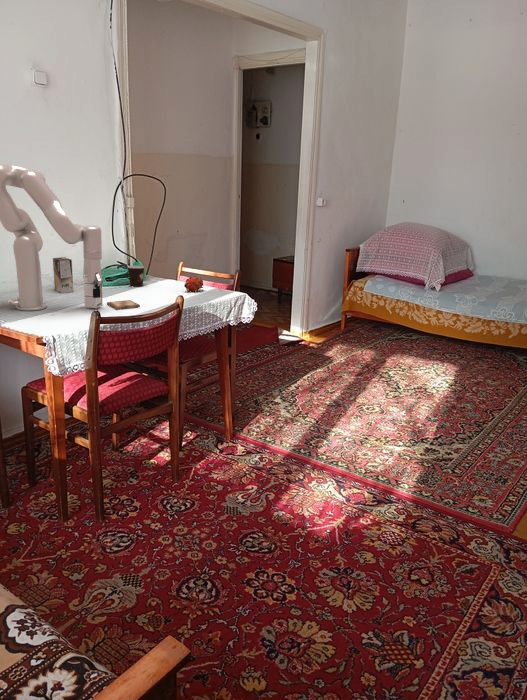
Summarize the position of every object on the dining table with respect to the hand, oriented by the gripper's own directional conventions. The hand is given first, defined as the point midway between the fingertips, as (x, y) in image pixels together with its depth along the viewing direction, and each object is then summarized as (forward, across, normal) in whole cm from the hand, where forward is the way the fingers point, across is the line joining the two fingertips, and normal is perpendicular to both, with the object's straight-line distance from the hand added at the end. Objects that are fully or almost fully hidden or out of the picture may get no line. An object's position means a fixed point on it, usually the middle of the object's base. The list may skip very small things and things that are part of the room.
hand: (93, 295), depth 250 cm
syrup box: (+5, 0, 0) cm, 5 cm away
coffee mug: (+5, -39, +36) cm, 53 cm away
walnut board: (+5, +2, +13) cm, 14 cm away
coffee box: (+6, -41, 0) cm, 41 cm away
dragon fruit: (+5, -14, +58) cm, 60 cm away
